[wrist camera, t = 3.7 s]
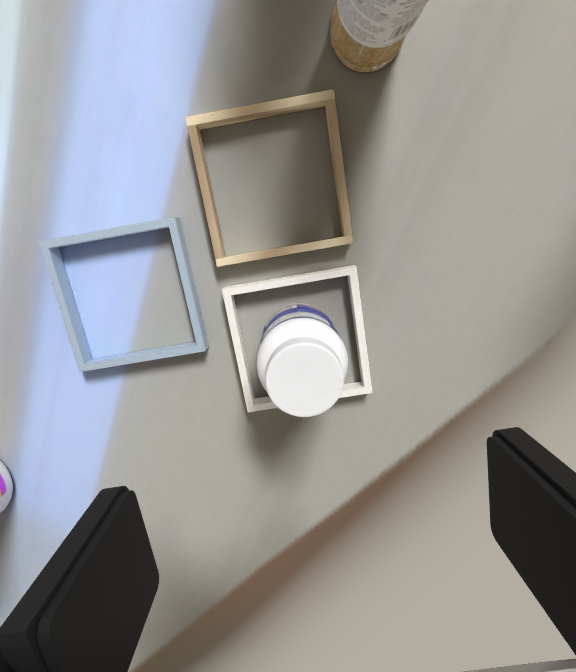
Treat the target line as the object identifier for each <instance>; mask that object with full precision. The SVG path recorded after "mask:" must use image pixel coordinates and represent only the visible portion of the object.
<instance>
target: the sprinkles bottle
mask: <svg viewBox="0 0 576 672" xmlns="http://www.w3.org/2000/svg"><path fill="white" fill-rule="evenodd" d="M427 2H428V0H337V3H336V6H335V8H334V11H333V14H332V18H331V24H330V37H331V44H332V47H333V49H334V51H335V53H336V55H337V57H338V58H339V59H340V61H341V62H342V63H343V64H344V65H346V66H347V67H348V68H349V69H352V70H355V71H358V72H373V71H377V70H379V69H381V68H382V67H384V66H386V65H387V64H388V63H389V62H390V61H392V60H393V59H394V57H395V56H396V55H397V53H398V51H399V50H400V48H401V46H402V43H403V41H404V38H405V36H406V34H407V33H408V32H409V31H410V30H411V28H412V27H413V25H414V23H415V22H416V20H417V18H418V17H419V15H420V13H421V12H422V10H423V8H424V7H425V5H426V3H427Z"/></svg>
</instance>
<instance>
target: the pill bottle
mask: <svg viewBox="0 0 576 672" xmlns="http://www.w3.org/2000/svg"><path fill="white" fill-rule="evenodd" d="M347 369H348V356H347V352H346V348H345V346H344V343H343V341H342V339H341V338H340V336H339V334H338V332H337V331H336V329H335V327H334V325H333V324H332V322H331V320H330V319H329V318H328V316H327V315H326V314H325V313H324V312H322V311H321V310H320V309H318V308H316V307H314V306H311V305H308V304H291V305H287V306H285V307H283V308H281V309H279V310H277V311H276V312H275V313H274V314H273V315H272V316H271V317H270V318H269V320H268V321H267V323H266V325H265V327H264V330H263V335H262V340H261V344H260V347H259V351H258V355H257V373H258V377H259V379H260V382H261V384H262V386H263V387H264V389H265V390H266V391H267V393H268V395H269V397H270V399H271V400H272V402H273V403H274V404H275V405H276V406H277V407H278V408H279V409H280V410H282V411H284V412H285V413H288V414H290V415H293V416H297V417H311V416H315V415H318V414H321V413H323V412H325V411H326V410H328V409H329V408H331V407H332V406H333V405H334V404H335V402H336V401H337V400H338V398H339V396H340V394H341V392H342V389H343V384H344V379H345V377H346V374H347Z"/></svg>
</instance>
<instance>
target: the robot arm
mask: <svg viewBox="0 0 576 672" xmlns="http://www.w3.org/2000/svg"><path fill="white" fill-rule="evenodd" d="M487 459H488V480H489V501H490V502H489V503H490V524H491V530H492V533H493V536H494V538H495V540H496V541H497V543H498V544H499V546H500V547H501V549H502V550H503V552H504V553H505V554H506V556H507V557H508V559H509V560H510V562H511V563H512V564H513V566H514V567H515V569H516V570H517V572H518V573H519V574H520V576H521V577H522V579H523V580H524V582H525V583H526V585H527V586H528V587H529V589H530V590H531V592H532V593H533V594H534V596H535V597H536V599H537V600H538V602H539V603H540V605H541V606H542V607H543V608H544V610H545V611H546V613H547V614H548V616H549V617H550V619H551V620H552V622H553V623H554V625H555V626H556V628H557V629H558V630H559V632H560V633H561V635H562V636H563V637H564V639H565V640H566V642H567V643H568V645H569V646H570V647H571V649H572V650H573V652H574V653H575V655H576V473H575V472H574V471H573V470H572V469H570V468H569V467H568V466H567V465H565V464H564V463H563V462H562V461H561V460H559V459H558V458H557V457H556V456H554V455H553V454H552V453H551V452H549V451H548V450H547V449H546V448H544V447H543V446H542V445H541V444H539V443H538V442H537V441H535V440H534V439H533V438H532V437H531V436H529V435H528V434H527V433H526V432H525V431H523V430H522V429H521V428H519V427H515V428H508V429H501V430H495V431H494V432H493V436H492V437H489V438H488V439H487ZM158 584H159V573H158V569H157V566H156V562H155V559H154V555H153V552H152V549H151V545H150V542H149V538H148V535H147V531H146V528H145V525H144V521H143V518H142V514H141V511H140V508H139V504H138V501H137V497H136V494H135V492H134V491H132V490H131V491H129V489H128V488H127V487H126V486H120V487H113V488H106V489H102V490H101V491H100V492H99V494H98V495H97V496H96V498H95V499H94V500H93V502H92V503H91V505H90V506H89V507H88V509H87V510H86V511H85V513H84V514H83V515H82V517H81V518H80V520H79V521H78V522H77V524H76V525H75V526H74V528H73V529H72V530H71V532H70V533H69V535H68V536H67V537H66V539H65V540H64V541H63V543H62V544H61V545H60V547H59V548H58V550H57V551H56V552H55V554H54V555H53V556H52V558H51V559H50V560H49V562H48V563H47V565H46V566H45V567H44V569H43V570H42V571H41V573H40V574H39V575H38V577H37V578H36V580H35V581H34V582H33V584H32V585H31V586H30V588H29V589H28V590H27V592H26V593H25V595H24V596H23V597H22V599H21V600H20V601H19V603H18V604H17V605H16V607H15V608H14V610H13V611H12V612H11V614H10V615H9V616H8V618H7V619H6V620H5V622H4V623H3V625H2V626H1V627H0V672H127V671H128V669H129V666H130V663H131V660H132V658H133V655H134V652H135V649H136V647H137V644H138V641H139V638H140V636H141V633H142V630H143V627H144V625H145V622H146V619H147V616H148V614H149V611H150V608H151V605H152V603H153V600H154V597H155V595H156V592H157V589H158ZM465 672H576V659H568V660H559V661H548V662H539V663H530V664H522V665H515V666H506V667H498V668H490V669H481V670H473V671H465Z"/></svg>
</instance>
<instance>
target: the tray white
mask: <svg viewBox="0 0 576 672" xmlns="http://www.w3.org/2000/svg"><path fill="white" fill-rule="evenodd" d="M342 276H347V277H348V285H349V292H350V300H351V307H352V315H353V323H354V330H355V338H356V345H357V353H358V360H359V368H360V376H361V382H354V383H348V384H343V389H342V392H341V394H340V396H339V398H343V397H349V396H355V395H362V394H368V393H372V387H371V379H370V371H369V363H368V355H367V347H366V339H365V331H364V324H363V316H362V308H361V300H360V292H359V284H358V276H357V268H356V266H354V265H351V266H345V267H339V268H333V269H327V270H321V271H316V272H310V273H304V274H298V275H292V276H286V277H281V278H275V279H269V280H263V281H257V282H251V283H246V284H240V285H234V286H228V287H224V288H223V289H222V293H223V297H224V302H225V307H226V312H227V316H228V321H229V326H230V330H231V335H232V340H233V345H234V349H235V354H236V359H237V364H238V368H239V373H240V378H241V383H242V387H243V392H244V397H245V402H246V406H247V411H248V412H254V411H261V410H267V409H273V408H278V407H277V406H276V405H275V404H274V403H273V402H272V400H271V399H270V397H269V396H267V397H261V398H254V393H253V388H252V383H251V378H250V373H249V368H248V363H247V358H246V354H245V349H244V344H243V339H242V334H241V329H240V324H239V319H238V314H237V310H236V305H235V300H234V295H236V294H242V293H248V292H254V291H260V290H265V289H271V288H277V287H283V286H289V285H295V284H301V283H307V282H312V281H318V280H324V279H330V278H336V277H342Z"/></svg>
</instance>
